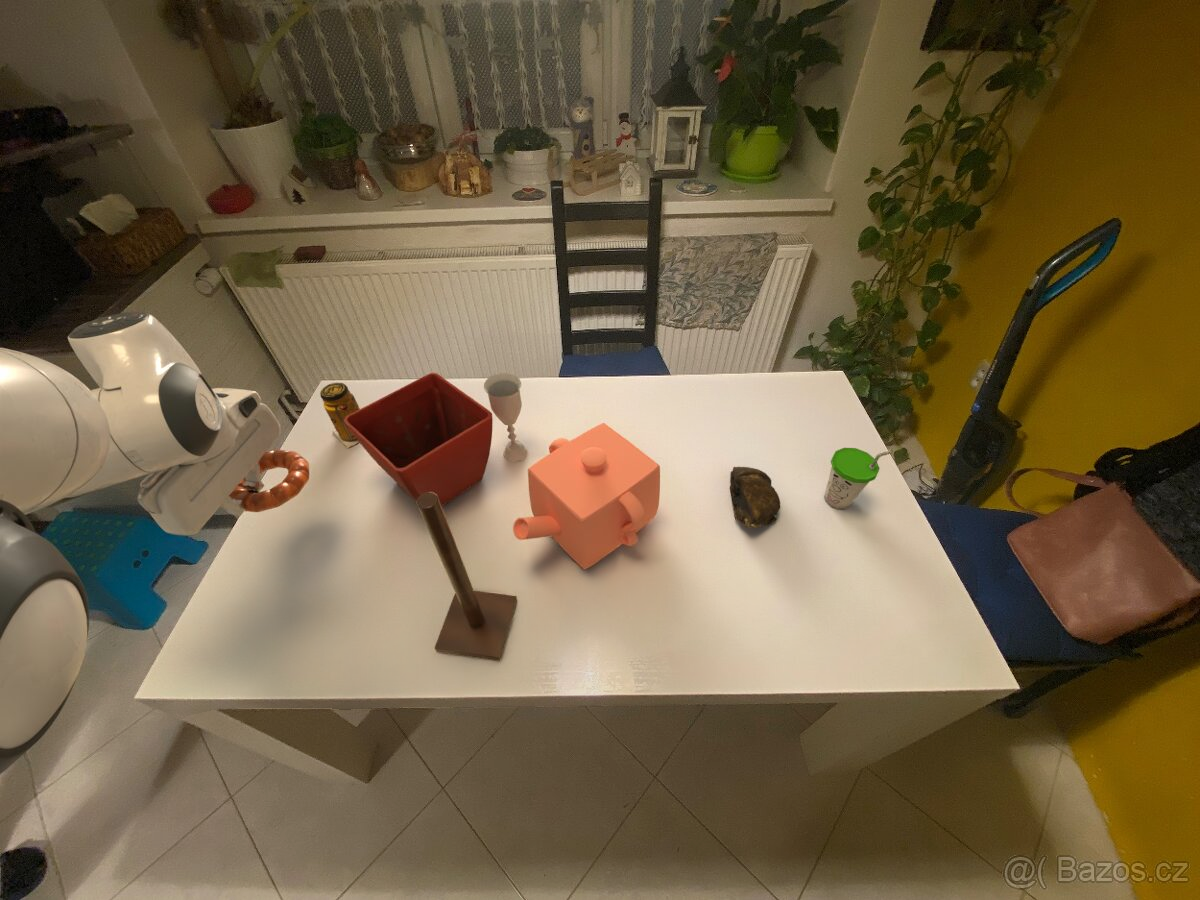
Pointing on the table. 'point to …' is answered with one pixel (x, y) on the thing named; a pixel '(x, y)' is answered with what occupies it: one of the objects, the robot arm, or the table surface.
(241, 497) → the ring
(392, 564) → the table surface
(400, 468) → the flower pot
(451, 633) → the stand
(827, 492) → the cup
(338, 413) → the condiment
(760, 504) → the dark brown irregular lump
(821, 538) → the table surface
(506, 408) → the chalice
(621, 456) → the teapot
